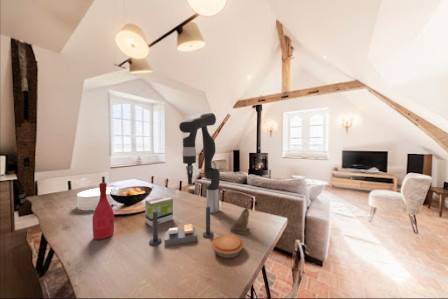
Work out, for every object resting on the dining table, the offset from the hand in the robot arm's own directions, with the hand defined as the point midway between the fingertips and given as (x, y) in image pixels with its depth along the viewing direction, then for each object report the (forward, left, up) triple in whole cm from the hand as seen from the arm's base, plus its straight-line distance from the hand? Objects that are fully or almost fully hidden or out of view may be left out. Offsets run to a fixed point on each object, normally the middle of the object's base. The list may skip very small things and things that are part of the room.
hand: (190, 184), depth 97 cm
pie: (-17, +22, -29) cm, 40 cm away
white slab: (+9, +6, -23) cm, 26 cm away
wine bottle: (+47, -8, -28) cm, 56 cm away
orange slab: (+1, +6, -23) cm, 24 cm away
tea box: (+19, -20, -28) cm, 40 cm away
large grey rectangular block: (+5, +6, -28) cm, 29 cm away
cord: (+18, +6, -28) cm, 34 cm away
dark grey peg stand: (-10, +6, -28) cm, 30 cm away
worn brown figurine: (-29, +7, -28) cm, 41 cm away
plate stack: (+73, -66, -29) cm, 103 cm away
